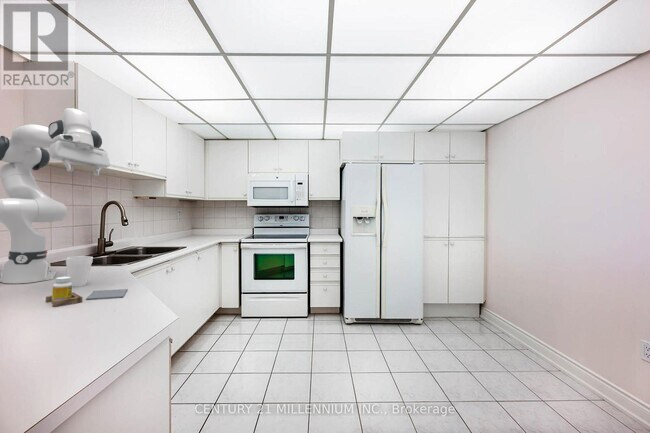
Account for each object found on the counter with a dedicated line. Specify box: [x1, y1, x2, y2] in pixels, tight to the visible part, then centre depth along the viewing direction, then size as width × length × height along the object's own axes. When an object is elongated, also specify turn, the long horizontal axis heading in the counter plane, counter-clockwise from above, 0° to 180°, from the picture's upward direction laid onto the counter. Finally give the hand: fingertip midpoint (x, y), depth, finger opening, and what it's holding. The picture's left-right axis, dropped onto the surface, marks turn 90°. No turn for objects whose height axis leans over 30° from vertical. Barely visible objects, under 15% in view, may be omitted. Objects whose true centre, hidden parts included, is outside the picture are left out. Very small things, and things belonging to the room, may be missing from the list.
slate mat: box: [85, 288, 128, 301], centre depth 114 cm, size 12×12×1 cm
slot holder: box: [45, 291, 83, 308], centre depth 102 cm, size 8×10×2 cm
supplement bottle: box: [51, 276, 73, 305], centre depth 102 cm, size 5×5×10 cm
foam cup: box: [65, 255, 94, 288], centre depth 125 cm, size 10×9×13 cm
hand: (83, 173), depth 114 cm, fingers open, 8 cm apart
